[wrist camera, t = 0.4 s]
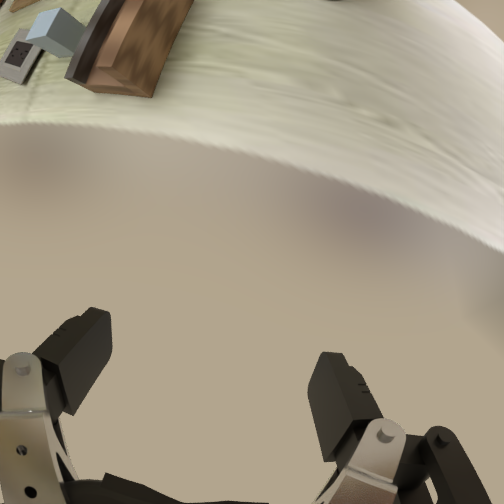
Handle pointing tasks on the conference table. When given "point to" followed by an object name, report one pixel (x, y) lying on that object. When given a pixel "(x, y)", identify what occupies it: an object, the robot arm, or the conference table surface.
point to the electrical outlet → (18, 57)
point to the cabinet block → (56, 32)
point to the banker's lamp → (21, 4)
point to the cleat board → (127, 45)
